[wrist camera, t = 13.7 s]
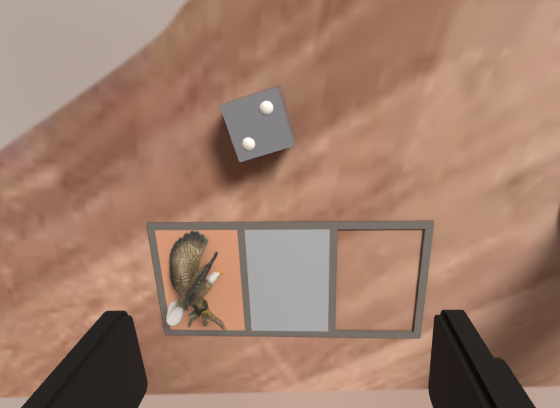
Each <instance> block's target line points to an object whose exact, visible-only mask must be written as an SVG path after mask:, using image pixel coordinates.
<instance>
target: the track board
mask: <svg viewBox="0 0 560 408" xmlns="http://www.w3.org/2000/svg"><path fill="white" fill-rule="evenodd" d="M433 227H434V221H294V222H148V223H147V230H148V236H149V242H150V248H151V254H152V260H153V266H154V272H155V278H156V284H157V290H158V296H159V302H160V308H161V314H162V320H163V326H164V332H165V335H210V336H282V337H354V338H420V337H421V328H422V320H423V312H424V303H425V295H426V286H427V278H428V269H429V261H430V253H431V244H432V236H433ZM337 229H424V236H423V246H422V255H421V264H420V273H419V282H418V291H417V300H416V309H415V319H414V328H413V331H380V330H335V312H336V268H337ZM192 230H194V231H195V232H196V231H199V232H200V234H204V236H205V238H207V239H208V244H207V246H206V248H205V251H204V253H203V255H202V257H201V261H200V267H199V269H200V268H201V267H203V266H204V265H206V264H208V263H209V262H210V260H211V258H212V257H213V255H214V253H215V252H216V251H217V252H218V255H217V257H216V259H215V261H214V262H213V264H212V266H211V269H210V271H209V273H208V275H207V277H208V276H209V275H210V274H211V273H213V272H219V271H222V272H223V274H221V275H220V276H219V277H218V279H217V280H216V281H215V283H214V284H213V286H212V287H211V289H210V290H209V291H208V293H207V294H206V295H204V297H203V298H204V299H205V300H207V302H208V308H209V310H210V311H211V312H212V313H213V314H214V315H215V316H216V317H218V318H219V319H220V320H221V321H222V322H223V323H224V325H225V327H226V330H225V331H224V330H222V329H221V328H220V326H219V325H217V324H216V323H214V322H213V321H210V322H209V324H208V325H207V326H206V327H204V326H203V320H202V316H201V315H200V317H199V318H197V319H195V320H194V321H193V322H192V324H191V326H190V328H189V327H188V322H189V320H190V316H189V314H190V313H191V312H192V311H194V310H195V309H194V308H193V307H192V306H189V307H188V311H186V310H185V311H184V314H183V317H182V319H181V321H180V323H179V324H178V325H176V326H170V325H168V323H167V322H166V315H167V311H168V307H169V305H170V303H171V302H173V301H176V300H178V299H179V296H178V293H177V292H176V291H175V289H174V288H173V286H172V283H171V279H170V263H169V262H170V253H171V249H172V248H173V245H174V243H175V242H176V241H178V240H179V238H180V237H182V238H183V236H184V234H185V233H190V231H192Z"/></svg>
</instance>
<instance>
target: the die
mask: <svg viewBox="0 0 560 408" xmlns="http://www.w3.org/2000/svg"><path fill="white" fill-rule="evenodd" d="M220 109H221V112H222V115H223V117H224V120H225V123H226V126H227V129H228V131H229V134H230V137H231V140H232V143H233V146H234V148H235V151H236V154H237V157H238V160H239V162H242V161H246V160H249V159H253V158H256V157H259V156H263V155H266V154H269V153H273V152H276V151H279V150H283V149H286V148H289V147H293V146H295V133H294V129H293V126H292V123H291V119H290V116H289V113H288V109H287V106H286V102H285V99H284V96H283V92H282V89H281V86H280V85H278V86H275V87H272V88H269V89H266V90H263V91H260V92H257V93H254V94H251V95H247V96H244V97H241V98H238V99H235V100H232V101H229V102H227V103H225V104H222V105H220Z"/></svg>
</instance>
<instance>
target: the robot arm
mask: <svg viewBox="0 0 560 408" xmlns="http://www.w3.org/2000/svg"><path fill="white" fill-rule="evenodd" d="M146 390H147V377H146V373H145V369H144V364H143V360H142V356H141V352H140V347H139V343H138V339H137V335H136V330H135V326H134V322H133V318H132V317H131V316H130V315H128V314H127V312H126V311H106V312H105V313H103V314H102V316H101V317H100V318H99V319H98V320H97V321H96V322H95V324H94V325H93V326H92V327H91V328H90V329H89V331H88V332H87V333H86V334H85V335H84V336H83V337H82V339H81V340H80V341H79V342H78V343H77V344H76V345H75V347H74V348H73V349H72V350H71V351H70V352H69V353H68V355H67V356H66V357H65V358H64V359H63V360H62V361H61V363H60V364H59V365H58V366H57V367H56V368H55V369H54V371H53V372H52V373H51V374H50V375H49V376H48V377H47V379H46V380H45V381H44V382H43V383H42V384H41V385H40V387H39V388H38V389H37V390H36V391H35V392H34V393H33V395H32V396H31V397H30V398H29V399H28V400H27V401H26V403H25V404H24V405H23V406H22V407H21V408H138V406H139V405H140V403H141V401H142V399H143V397H144V395H145V393H146ZM429 396H430V399H431V402H432V405H433V408H536V407H534V404H533V403H532V401H531V400H530V398H529V397H528V395H527V394H526V392H525V391H524V389H523V388H522V386H521V385H520V383H519V382H518V380H517V379H516V377H515V376H514V374H513V373H512V371H511V369H510V368H509V366H508V365H507V364H506V362H505V361H504V360H503V359H501V358H494V357H493V356H492V354H491V353H490V351H489V349H488V348H487V346H486V345H485V343H484V341H483V340H482V338H481V337H480V335H479V334H478V332H477V330H476V329H475V327H474V326H473V324H472V322H471V321H470V319H469V318H468V316H467V314H466V313H465V312H464V310H442V311H441V314H440V315H435V317H434V327H433V339H432V350H431V362H430V374H429Z"/></svg>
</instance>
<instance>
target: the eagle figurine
mask: <svg viewBox="0 0 560 408" xmlns="http://www.w3.org/2000/svg"><path fill="white" fill-rule="evenodd" d="M207 244H208V239H207V238H205V236H204V234H200V232H199V231H196V232H195V231H194V230H192V231H190V233H185V234H184V236H183V238H182V237H180V238H179V240H178V241H176V242H175V243H174V245H173V248H172V249H171V253H170V262H169V263H170V279H171V283H172V286H173V288H174V289H175V291H176V292H177V293H178V296H179V299H178V300H176V301H173V302H171V303H170V305H169V307H168V311H167V315H166V322H167V323H168V325H170V326H176V325H178V324H179V323H180V321H181V319H182V317H183V314H184V311H185V310H186V311H188V307H189V306H192V307H193V308H194V309H195V310H194V311H192V312H191V313H190V314H189V316H190V320H189V322H188V327H189V328H190V326H191V324H192V322H193V321H194V320H195V319H197V318H199V317H200V315H201V316H202V320H203V326H204V327H206V326H207V325H208V324H209V322H210V321H213V322H214V323H216V324H217V325H219V326H220V328H221V329H222V330H224V331H225V330H226V327H225V325H224V323H223V322H222V321H221V320H220V319H219V318H218V317H216V316H215V315H214V314H213V313H212V312H211V311H210V310H209V308H208V302H207V300H205V299H204V298H203V297H204V295H206V294H207V293H208V291H209V290H210V289H211V287H212V286H213V284H214V283H215V281H216V280H217V279H218V277H219V276H220V275H221V274H223V272H222V271H219V272H213V273H211V274H210V275H209V276H208V277H207V275H208V273H209V271H210V269H211V266H212V264H213V262H214V261H215V259H216V257H217V255H218V252H217V251H216V252H215V253H214V255H213V257H212V258H211V260H210V262H209V263H208V264H206V265H204V266H203V267H201V268H200V269H199V267H200V261H201V257H202V255H203V253H204V251H205V248H206V246H207Z"/></svg>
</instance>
